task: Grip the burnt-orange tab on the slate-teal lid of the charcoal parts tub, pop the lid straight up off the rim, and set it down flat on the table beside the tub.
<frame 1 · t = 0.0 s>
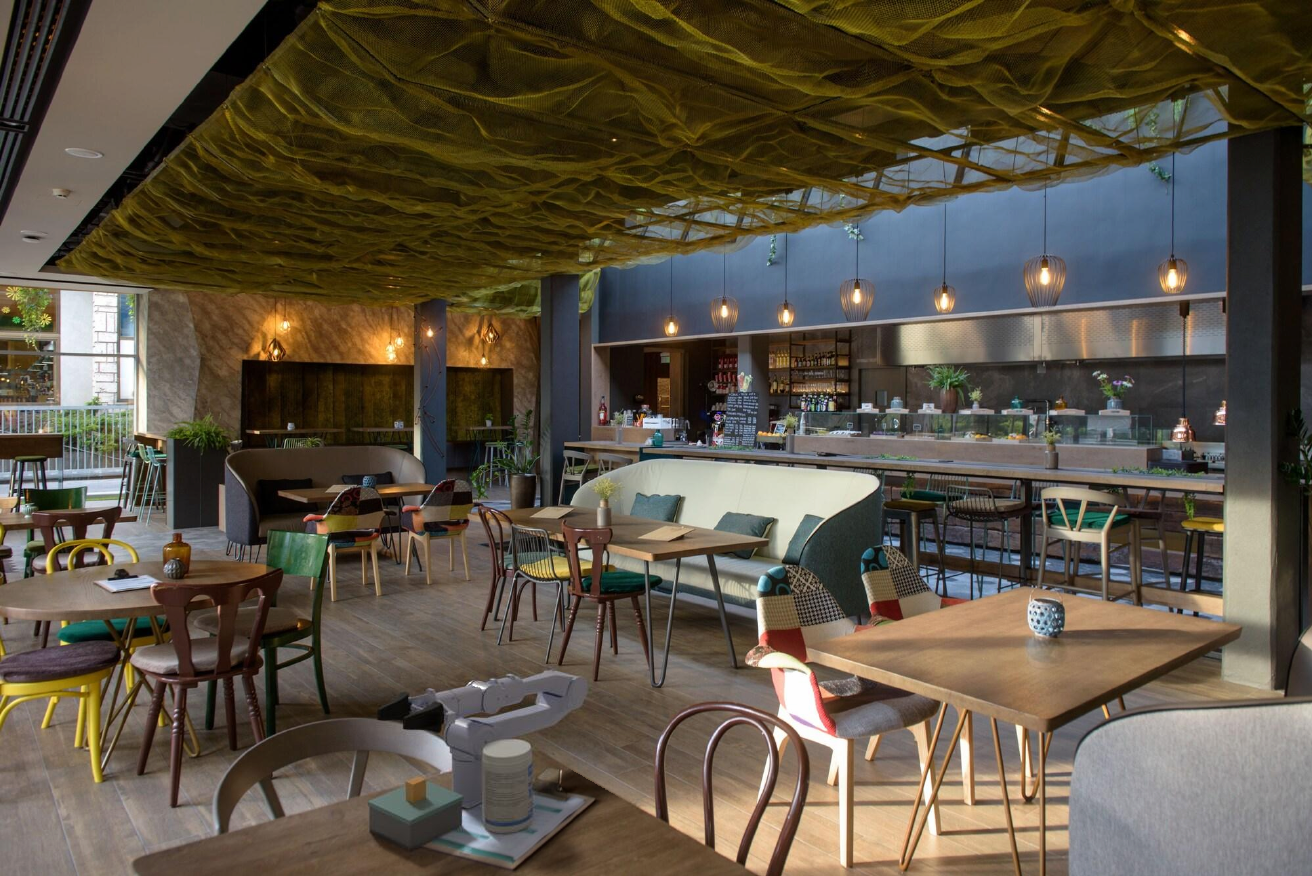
hand: (391, 719, 160), 22 cm above the table, tool horizontal, fingers open, 7 cm apart
lid: (416, 807, 163), point 4 cm above the table, touching parts tub
parts tub: (416, 828, 163), on the table
supplement tub: (507, 824, 165), on the table
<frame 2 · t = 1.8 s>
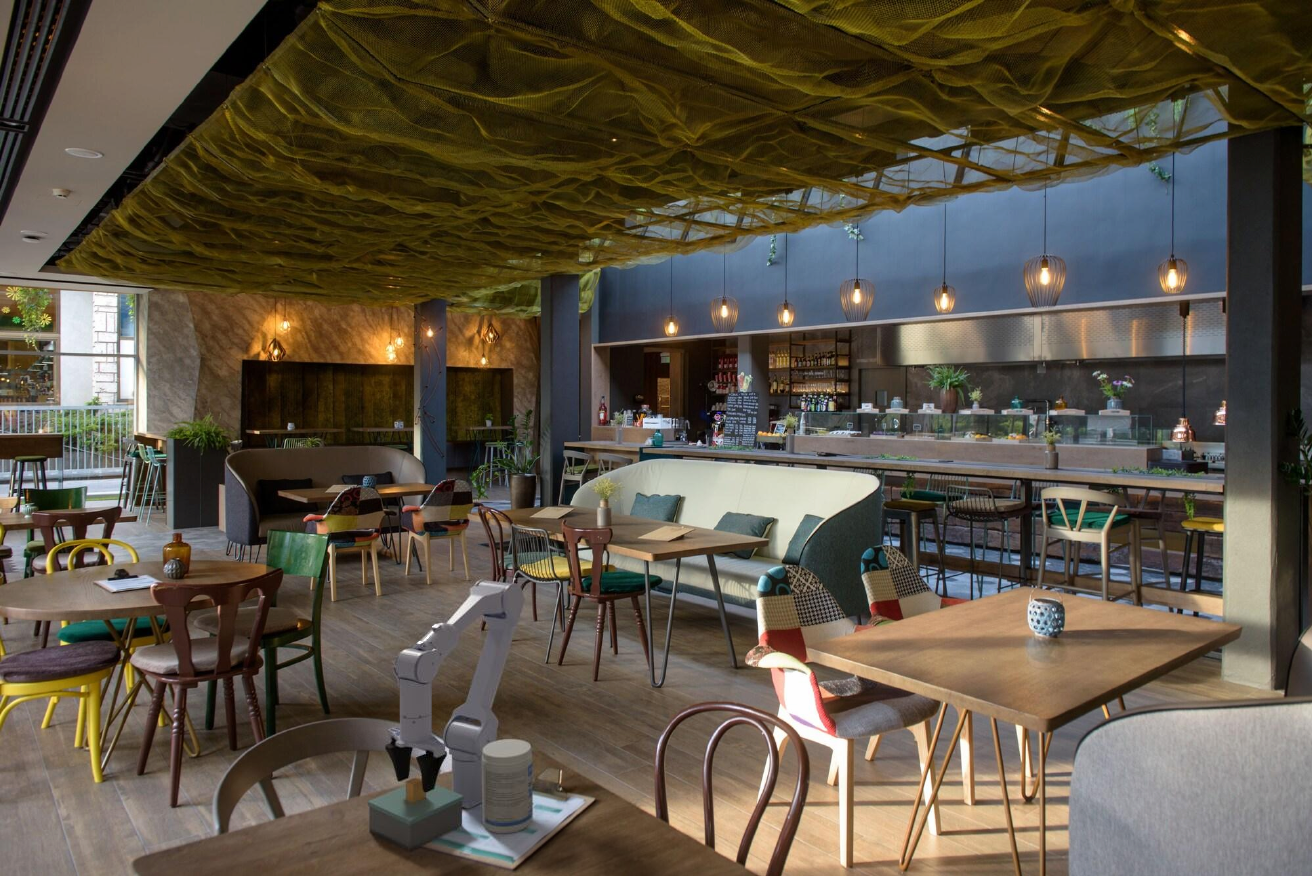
hand: (415, 784, 162), 8 cm above the table, tool pointing down, fingers open, 7 cm apart
nothing on the table moved.
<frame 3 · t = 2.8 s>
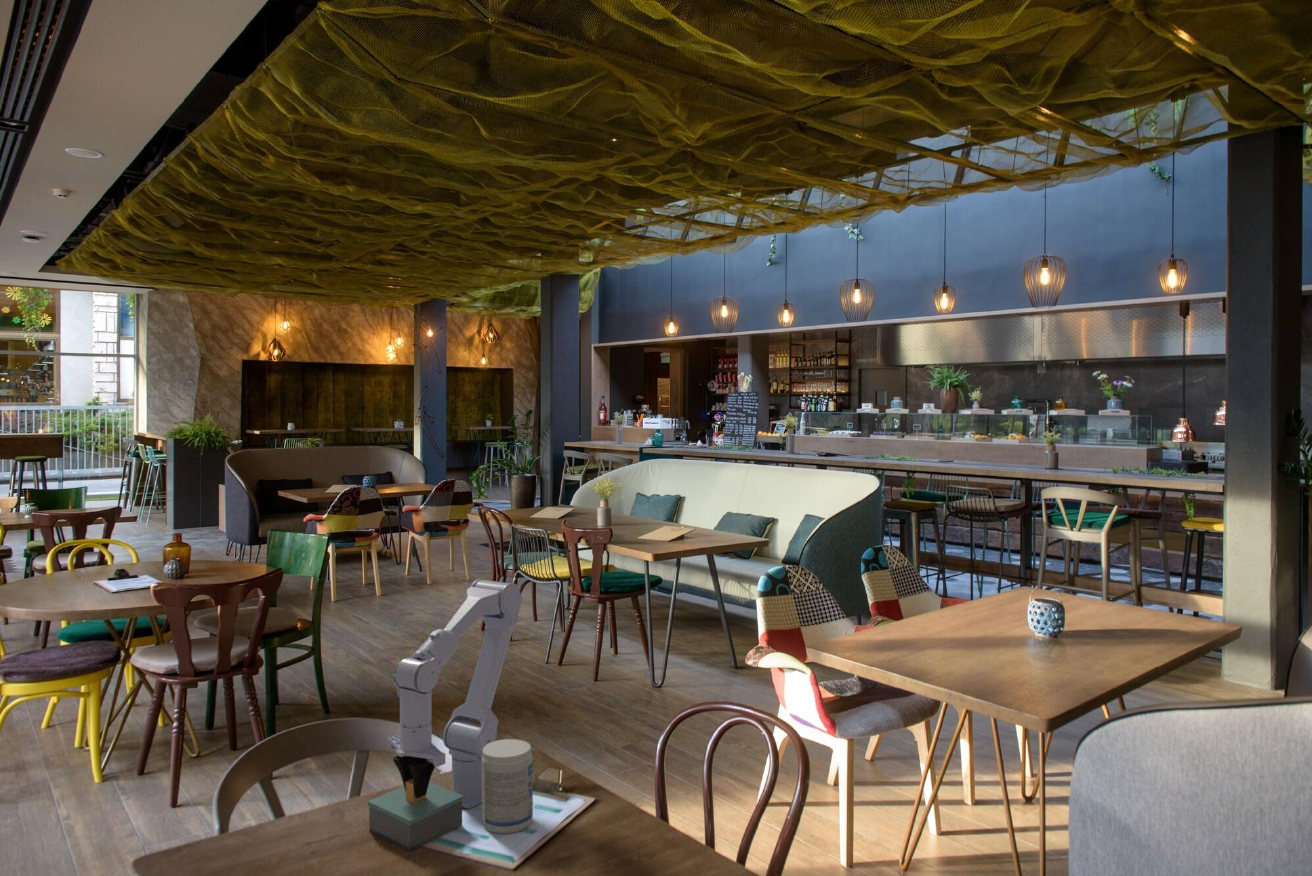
hand: (416, 793, 162), 7 cm above the table, tool pointing down, fingers closed on lid, 2 cm apart
lid: (416, 807, 163), point 4 cm above the table, touching gripper, parts tub
everything else where it was.
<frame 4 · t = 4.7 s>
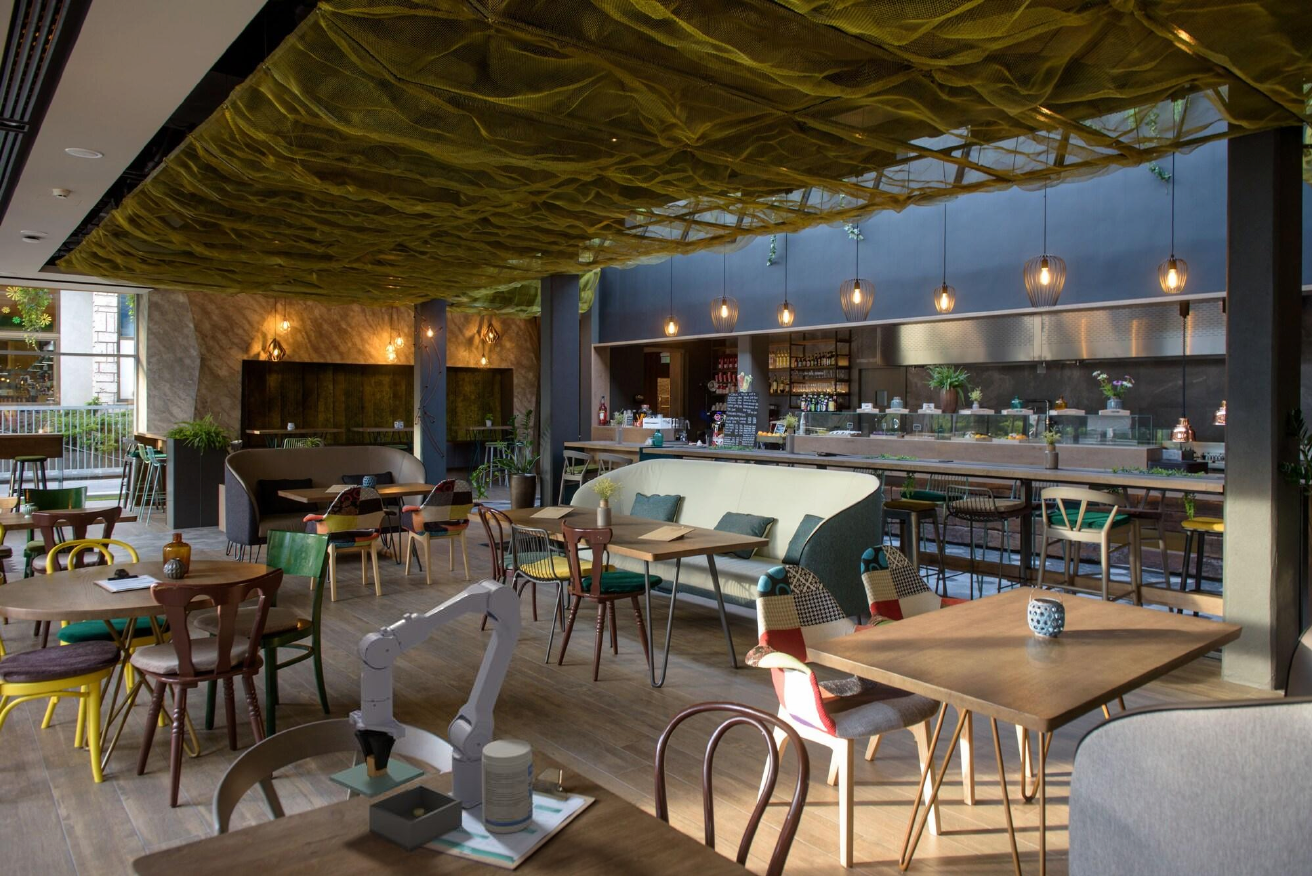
hand: (376, 767, 165), 10 cm above the table, tool pointing down, fingers closed on lid, 2 cm apart
lid: (377, 781, 165), point 8 cm above the table, touching gripper
everything else where it was.
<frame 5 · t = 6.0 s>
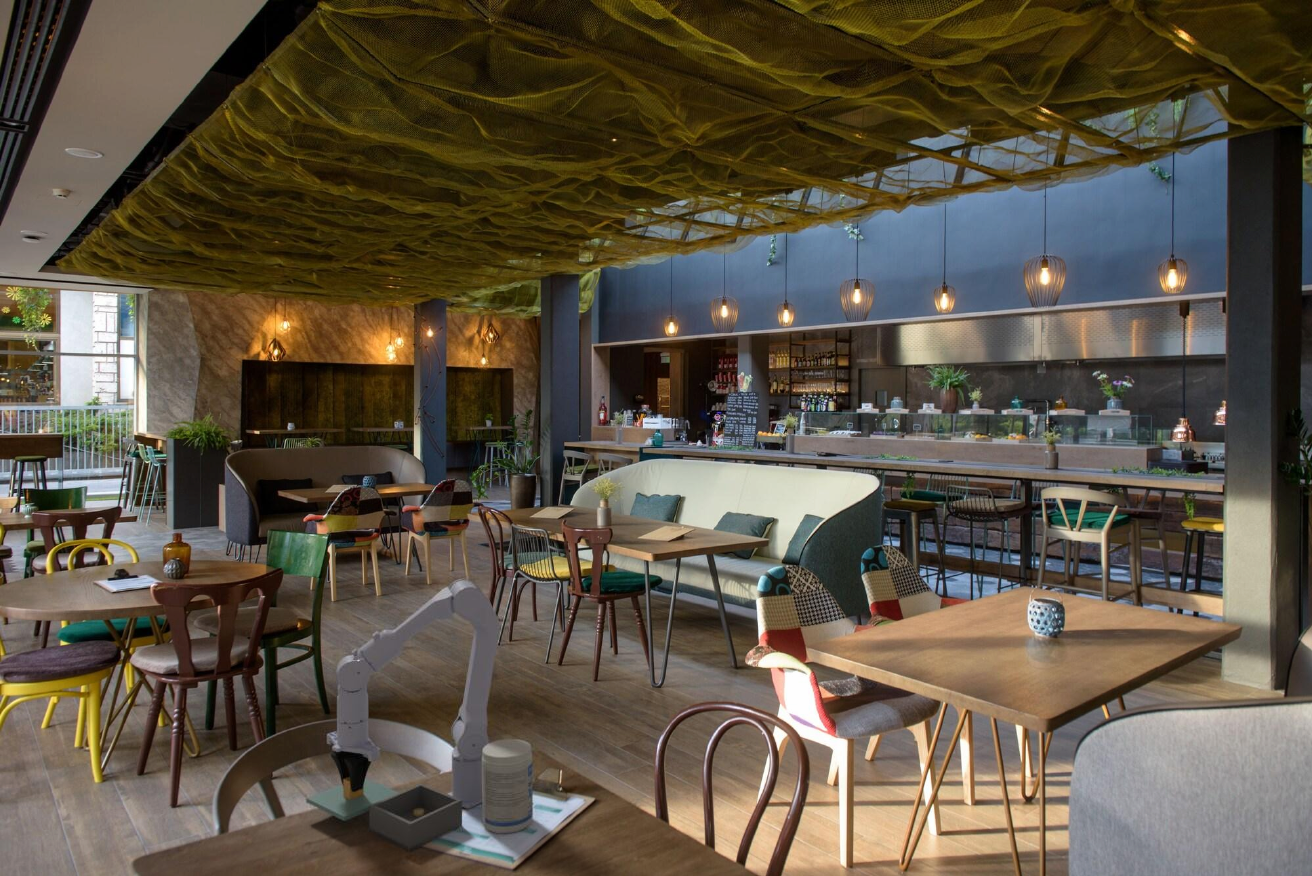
hand: (353, 788, 168), 5 cm above the table, tool pointing down, fingers closed on lid, 2 cm apart
lid: (353, 803, 168), point 2 cm above the table, touching gripper
everything else where it was.
when the fingers open (4 cm above the table, at t = 6.9 s): lid stays where it is, on the table.
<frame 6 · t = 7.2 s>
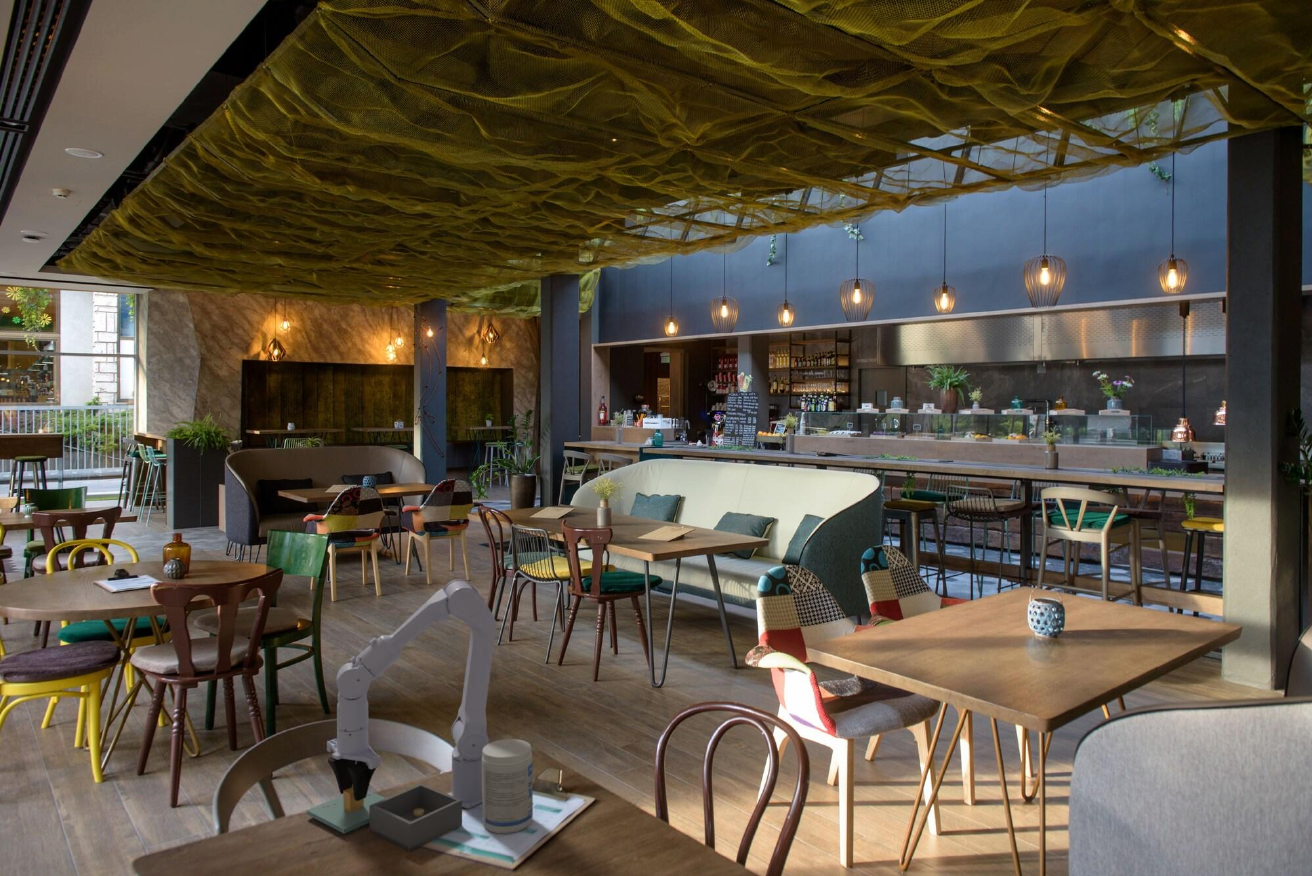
hand: (353, 795, 168), 4 cm above the table, tool pointing down, fingers open, 4 cm apart
lid: (353, 815, 168), on the table
everything else where it was.
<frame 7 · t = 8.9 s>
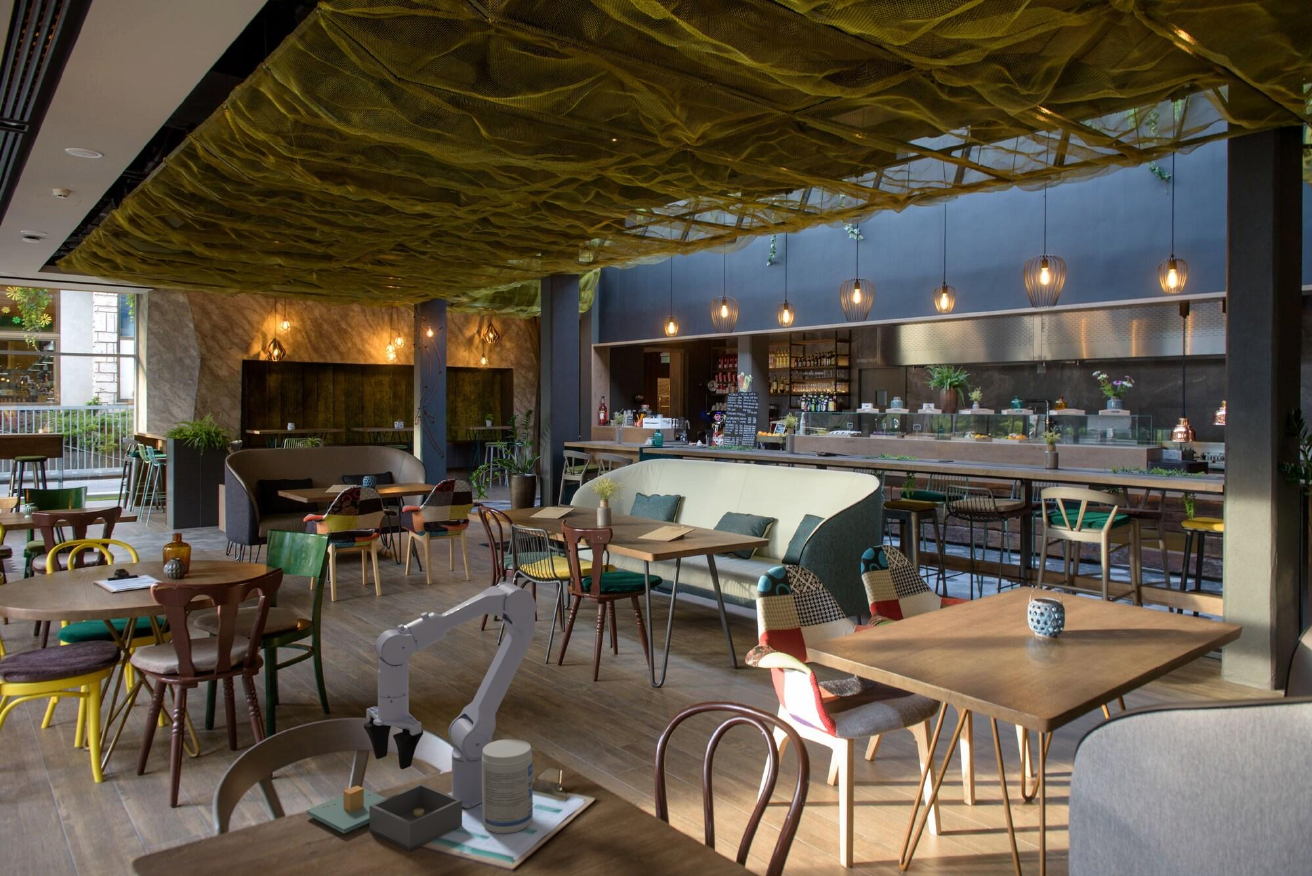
hand: (393, 762, 168), 10 cm above the table, tool pointing down, fingers open, 7 cm apart
nothing on the table moved.
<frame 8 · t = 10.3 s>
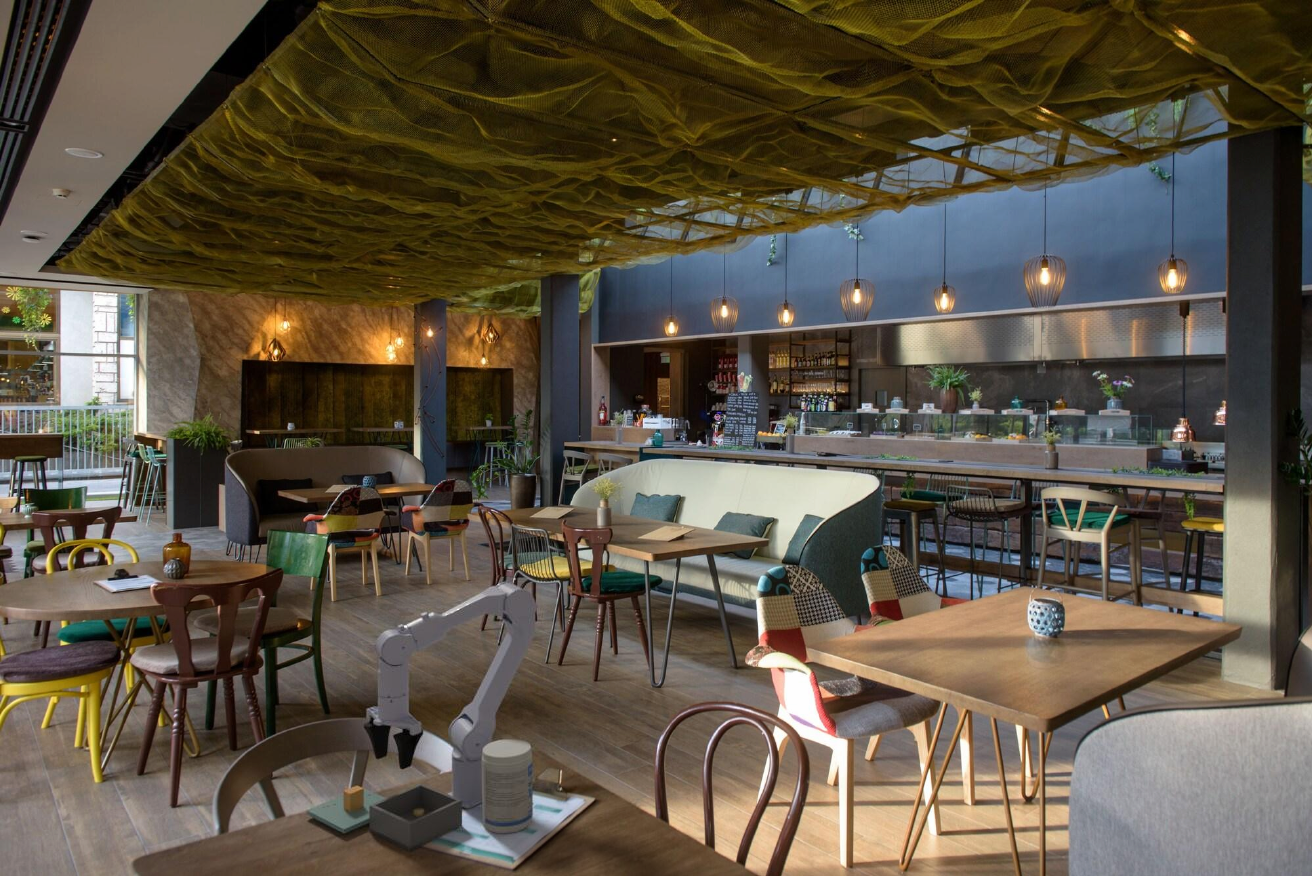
hand: (393, 762, 168), 10 cm above the table, tool pointing down, fingers open, 7 cm apart
nothing on the table moved.
at the end: lid touching table; lid inside the target area (0.1 cm from its centre), on the table; lid tilted 0° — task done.
